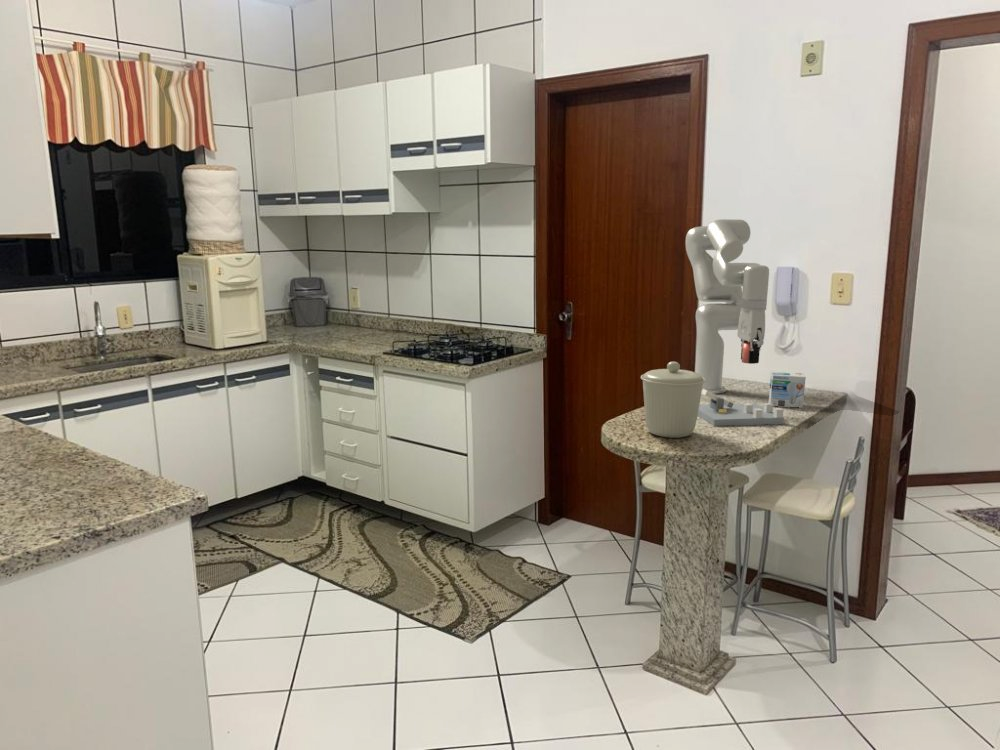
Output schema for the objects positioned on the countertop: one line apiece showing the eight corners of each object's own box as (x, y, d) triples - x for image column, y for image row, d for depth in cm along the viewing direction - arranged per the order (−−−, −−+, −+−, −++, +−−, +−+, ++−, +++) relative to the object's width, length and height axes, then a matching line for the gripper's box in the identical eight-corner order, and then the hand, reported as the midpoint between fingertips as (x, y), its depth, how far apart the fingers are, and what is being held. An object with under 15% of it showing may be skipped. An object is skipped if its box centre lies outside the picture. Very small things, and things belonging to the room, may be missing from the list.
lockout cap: (739, 360, 248) (740, 340, 246) (753, 360, 248) (754, 339, 247) (745, 363, 243) (747, 342, 241) (760, 363, 243) (761, 342, 242)
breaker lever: (700, 393, 243) (703, 388, 242) (726, 405, 245) (729, 401, 244) (705, 395, 239) (707, 390, 239) (731, 408, 241) (734, 403, 241)
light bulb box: (769, 406, 255) (772, 374, 253) (767, 402, 262) (770, 371, 260) (803, 408, 253) (806, 376, 251) (801, 404, 259) (803, 372, 257)
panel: (690, 411, 248) (691, 392, 247) (754, 409, 251) (756, 391, 250) (713, 426, 230) (715, 406, 229) (783, 424, 233) (784, 404, 232)
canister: (709, 430, 225) (714, 360, 221) (691, 445, 209) (695, 369, 205) (650, 422, 234) (653, 354, 230) (629, 436, 218) (631, 363, 214)
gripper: (731, 301, 249) (727, 356, 253) (754, 308, 233) (750, 367, 237) (753, 301, 250) (748, 356, 254) (778, 308, 234) (773, 366, 238)
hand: (749, 360), depth 245 cm, fingers closed on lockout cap, 4 cm apart
